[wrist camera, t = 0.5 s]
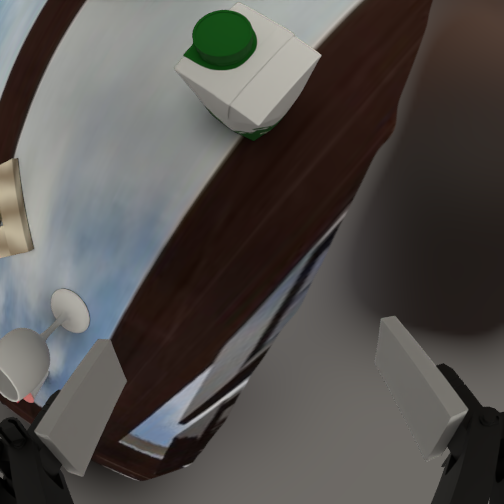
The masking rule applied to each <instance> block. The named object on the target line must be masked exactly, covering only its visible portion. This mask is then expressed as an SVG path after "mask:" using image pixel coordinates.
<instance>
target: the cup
mask: <svg viewBox="0 0 504 504" xmlns="http://www.w3.org/2000/svg"><path fill="white" fill-rule="evenodd" d="M48 374H49V371H48V372H47V374H46V375H45V377H44V378H43V380H42V381H41V382H40V384H39V385H38V386H37V387H36V388H35V389H34V390H33V391H32V392H31V393H29V394H28V395H27V396H25V397H24V398H23V399H24V400H26V401H27V402H30V403H33V402H34V399H35V397H36V395H37V394H38V392H39V390H40V388H41V387H42V385H43V383H44V381H45V380H46V378H47V376H48ZM18 402H19V401H18ZM18 402H17V403H18Z"/></svg>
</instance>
